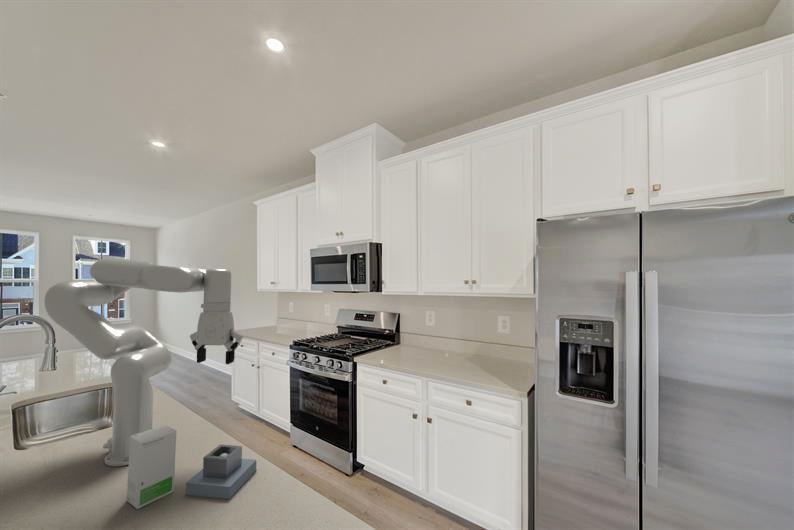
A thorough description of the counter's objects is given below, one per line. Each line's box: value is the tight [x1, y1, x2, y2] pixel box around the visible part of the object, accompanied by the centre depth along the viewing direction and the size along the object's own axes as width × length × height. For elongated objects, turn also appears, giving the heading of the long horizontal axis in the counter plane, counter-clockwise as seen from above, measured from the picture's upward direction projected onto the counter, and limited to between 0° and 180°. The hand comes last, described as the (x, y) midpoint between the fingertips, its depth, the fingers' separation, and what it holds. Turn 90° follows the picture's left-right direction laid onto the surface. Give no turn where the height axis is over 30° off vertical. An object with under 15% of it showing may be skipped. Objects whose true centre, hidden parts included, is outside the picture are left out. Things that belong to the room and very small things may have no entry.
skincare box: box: [126, 425, 177, 510], centre depth 82 cm, size 8×7×16 cm
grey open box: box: [202, 444, 243, 479], centre depth 87 cm, size 7×7×5 cm
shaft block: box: [185, 453, 257, 500], centre depth 87 cm, size 12×12×7 cm
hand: (215, 362), depth 101 cm, fingers open, 9 cm apart
